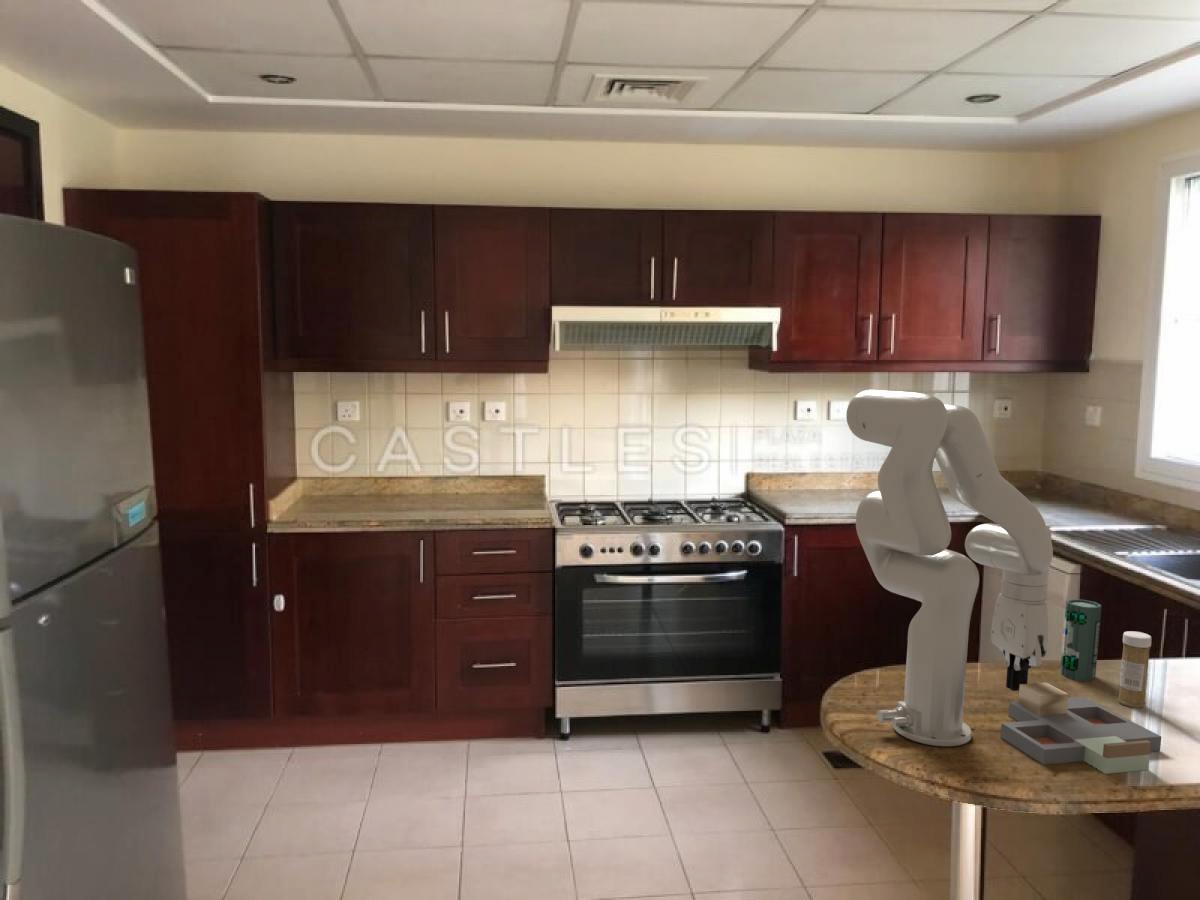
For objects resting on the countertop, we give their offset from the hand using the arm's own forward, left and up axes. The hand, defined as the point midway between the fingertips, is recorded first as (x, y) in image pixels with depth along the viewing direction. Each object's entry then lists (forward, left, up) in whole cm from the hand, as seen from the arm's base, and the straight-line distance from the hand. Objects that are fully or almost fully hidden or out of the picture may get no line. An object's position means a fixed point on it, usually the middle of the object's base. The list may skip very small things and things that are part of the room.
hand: (1016, 688), depth 169 cm
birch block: (0, -7, -1) cm, 7 cm away
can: (+24, +13, -4) cm, 27 cm away
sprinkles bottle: (+23, -2, -4) cm, 23 cm away
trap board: (0, -15, -4) cm, 15 cm away
